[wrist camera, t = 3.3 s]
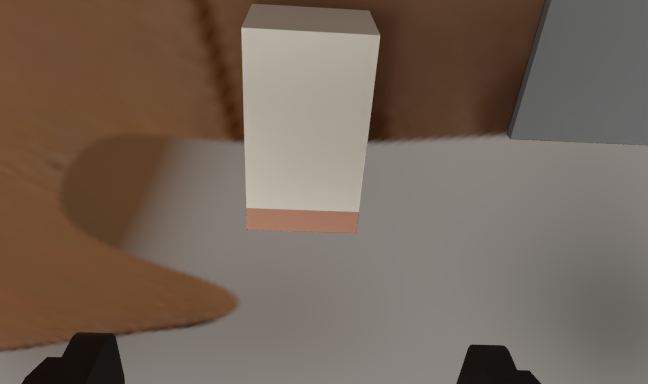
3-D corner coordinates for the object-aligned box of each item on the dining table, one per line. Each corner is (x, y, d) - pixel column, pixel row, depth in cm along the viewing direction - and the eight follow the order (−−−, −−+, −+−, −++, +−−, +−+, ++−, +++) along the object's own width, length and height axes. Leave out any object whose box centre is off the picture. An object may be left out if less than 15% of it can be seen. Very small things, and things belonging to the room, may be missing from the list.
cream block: (369, 10, 21) (380, 35, 18) (350, 187, 26) (356, 233, 23) (252, 3, 21) (241, 27, 18) (254, 183, 26) (246, 229, 22)
